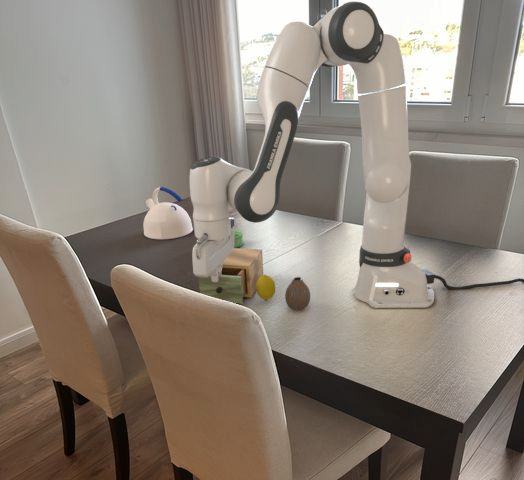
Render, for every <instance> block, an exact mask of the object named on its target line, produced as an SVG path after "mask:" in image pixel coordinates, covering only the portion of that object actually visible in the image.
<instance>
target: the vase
mask: <svg viewBox="0 0 524 480" xmlns="http://www.w3.org/2000/svg"><path fill="white" fill-rule="evenodd" d="M284 299H285V303H286V305H287V307H288V308H289V309H291V310H292V311H296V312H300V311H301V312H302V311H303V310H305V309H306V308H308V306H309V304H310V301H311V291H310V288H309V286H308V285H307V284H306V282H305V281H304V279H303V278H302V277H299V276H296V277H293V278H292V280H291V282H290V283H289V285H288V286H287V287H286V289H285V294H284Z"/></svg>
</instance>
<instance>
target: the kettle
mask: <svg viewBox="0 0 524 480" xmlns="http://www.w3.org/2000/svg"><path fill="white" fill-rule="evenodd" d="M160 191H162V192H165V193H166V194H169V195H170V196H172V197H173V198H174V199H175V200H176V201H177V203H181V202H183V201H184V200H183V198H182V197H181V196H180V195H179V194H178V193H177V192H175V191H173V190H171V189H169V188H168V187H164V186H159V187H156V188H155V189H154V190H153V192H152V196H151V197H152V198H148V199H146V201H144V202H145V203H144V204H145V206H146V207H147V208H148V209H149V210H148V211H147V213H146V215H145V217H144V219H143V222H142V226H143V236H144V237H146V238H148V239H151V240H159V241H160V240H161V241H162V240H163V241H164V240H173V239H174V240H175V239H178V238H182V237H185V236H188V235H189V234H191V233H192V232H193V231H194V226H193V222H192V219H191V217H190V215H189V214H188V212H187V211H186V210H185V209H184V208H183V207H181V206H180V205H179V204H176V203H173V202H165V201H164V202H159V199H158V196H159V195H158V194H159V192H160Z"/></svg>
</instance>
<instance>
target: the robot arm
mask: <svg viewBox="0 0 524 480" xmlns="http://www.w3.org/2000/svg"><path fill="white" fill-rule="evenodd" d="M280 31H281V32H280V33H279V35H278V37H277V38H276V41H275V42H274V44H273V46H272V48H271V50H270V52H269V54H268V57H267V59H266V62H265V64H264V67H263V70H262V73H261V75H260V79H259V82H258V87H257V92H256V97H255V98H256V103H257V106H258V108H259V110H260V113H261V114H262V118H263V120H264V126H265V131H264V137H263V139H262V144H261V145H260V146H261V147H260V150H259V153H258V156H257V160H256V163H255V165H254V168H253V170H250V169H249V168H246V167H241V166H237V165H234V164H231V163H229V162H228V161H226V160H224V159H222V158H221V157H220V156H206V157H203V158H200V159H198V160H196V161H194V162H193V163H192V165H191V166H190V169H189V177H188V178H189V179H188V180H189V195H190V201H191V204H192V207H193V210H192V224H193V232H194V237H195V238H196V239H197V240H196V244H194V245H193V247H192V253H191V255H192V272H193V275H194V276H195V277H196V278H198V277H208V276H209V275H211V280H212V282H218V281H219V279H220V278H221V277H222V273H221V271H222V266H223V261H224V260H225V259H226V258H227V257H228V255H229V254H230V253H231V252H232V251H233V249H234V230H235V226H236V218H235V217H231V216H230V212H231V211H234V210H236V212H237V213H238V214H239V215H240V216H241V217H242V218H243V219H244V220H245V221H247V222H249V223H254V224H255V223H262V222H265V221H267V220H268V219H270V218H271V217H273V215H275V212H276V211H277V210H278V207H279V204H280V197H281V196H280V195H281V194H280V193H281V181H282V177H283V174H284V171H285V169H286V165H287V162H288V159H289V155H290V153H291V149H292V146H293V143H294V139H295V136H296V133H297V129H298V128H297V127H298V124H299V120H300V115H301V111H302V110H303V109H302V108H303V105H304V104H305V103H304V102H305V100H306V97H307V95H308V93H309V90H310V88H311V85H312V82H313V79H314V76H315V74H316V73H317V72H318V69H319V68H320V67H326V68H335V67H341V66H347V65H349V66H350V67H351V69H352V70H353V73H354V75H355V79H356V89H357V100H358V109H359V120H360V129H361V130H360V131H361V155H362V156H361V159H362V173H363V175H362V177H363V185H364V189H365V191H366V192H365V193H366V195H365V202H364V204H365V205H364V211H363V213H364V214H363V221H362V238H361V245H360V248H359V253H358V254H359V255H358V256H359V257H358V263H359V269H358V270H359V271H358V274H357V275H358V276H357V280H356V283H355V287H354V289H353V296H354V297H355V298H356V299H358V300H359V301H361V302H363V303H366V304H367V305H369V306H370V307H372V308H374V309H386V308H387V309H393V308H394V309H408V308H409V309H411V308H412V309H418V308H419V309H422V308H423V309H424V308H429V307H431V306H432V305H433V304H434V302H435V290H434V289H433V287H431V286H430V285H432V284H434V283H435V279H437V280H439V281H440V282H442V285H443V287H444V288H445V289H448V290H451V291H454V290H458V291H459V290H469V289H474V288H484V287H485V288H486V287H494V286H495V287H496V286H502V285H503V286H504V285H511V284H515V283H523V284H524V278H515V279H510V280H505V281H494V282H484V283H473V284H468V285H464V286H451V285H449V284H448V283H447V281H446V279H445V278H444V277H442V276H441V275H438V274H435V273H433V272H432V271H430V270H429V269H428V268H423V269H422V268H420V267H419V266H417V265H416V264H415V263H413V261H412V254H411V250H410V247H409V246H407V247H406V246H405V245H404V243H405V231H406V223H407V215H408V214H407V213H408V204H409V194H410V186H411V184H410V183H411V177H412V176H411V175H412V160H411V158H410V146H409V145H410V144H409V116H408V115H409V114H408V101H407V98H408V97H407V85H406V84H407V83H406V73H405V65H404V59H403V56H402V55H403V54H402V51H401V47H400V42H399V41H398V39H397V38H396V37H395V36H394V35H391V34H388V33H384V30H383V28H382V27H381V25H380V22H379V19H378V17H377V15H376V13H375V11H374V10H373V9H372V8H371V7H370V6H369V5H368V4H367V3H364V2H361V1H348V2H345V3H343V4H341V5H338V6H335V7H334V8H332V9H330V10H329V11H328V12H326V14H325V15H323V16H321V17H320V18H319V19H317V21H315V22H314V23H313V24H312V25H310V24H308V23H306V22H303V21H291V22H288V23H286V25H285V26H284V27H283V29H282V30H280Z"/></svg>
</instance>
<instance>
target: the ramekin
mask: <svg viewBox="0 0 524 480" xmlns="http://www.w3.org/2000/svg"><path fill="white" fill-rule="evenodd" d="M243 235H244V233H243V232H242V230H241V231H240V230H237V229H234V248H239V247H240V248H241V246H242V245H243Z"/></svg>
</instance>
